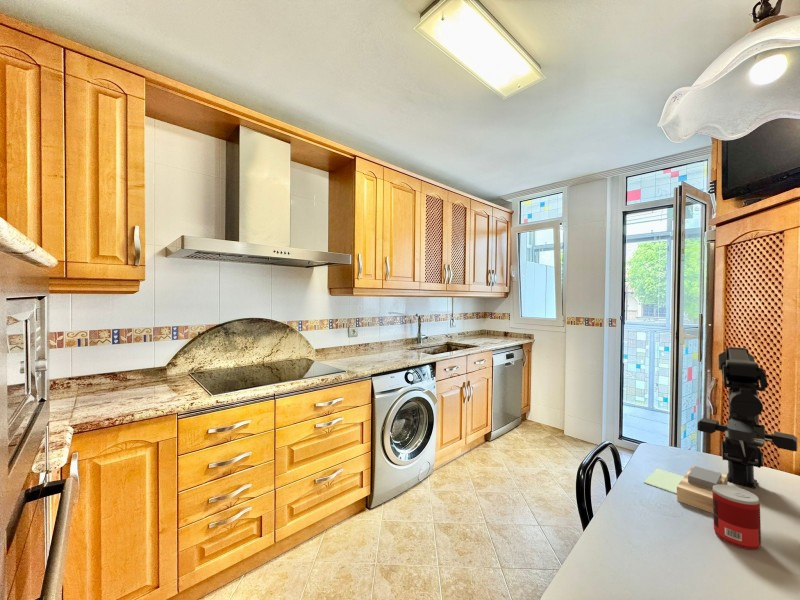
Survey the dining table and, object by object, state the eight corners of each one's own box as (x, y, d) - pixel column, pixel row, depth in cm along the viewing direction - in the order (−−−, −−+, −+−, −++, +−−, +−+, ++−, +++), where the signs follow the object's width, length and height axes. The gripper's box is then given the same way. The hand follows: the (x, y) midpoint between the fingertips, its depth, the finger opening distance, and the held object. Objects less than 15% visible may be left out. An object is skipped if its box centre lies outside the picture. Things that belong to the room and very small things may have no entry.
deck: (693, 477, 107) (692, 465, 107) (727, 488, 101) (727, 475, 101) (677, 500, 94) (676, 486, 95) (715, 513, 88) (714, 498, 88)
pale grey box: (695, 472, 102) (694, 466, 102) (721, 480, 98) (721, 473, 98) (688, 482, 97) (687, 475, 97) (716, 490, 92) (715, 483, 92)
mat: (657, 469, 113) (657, 468, 113) (691, 479, 106) (691, 478, 106) (644, 482, 104) (643, 482, 104) (680, 495, 97) (680, 494, 97)
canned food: (771, 553, 74) (769, 503, 74) (729, 548, 76) (728, 499, 76) (743, 530, 82) (741, 485, 82) (705, 526, 83) (704, 482, 84)
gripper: (692, 405, 94) (694, 460, 93) (794, 423, 79) (797, 488, 79) (700, 398, 100) (702, 450, 100) (796, 413, 86) (798, 474, 85)
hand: (745, 464), depth 91 cm, fingers closed
